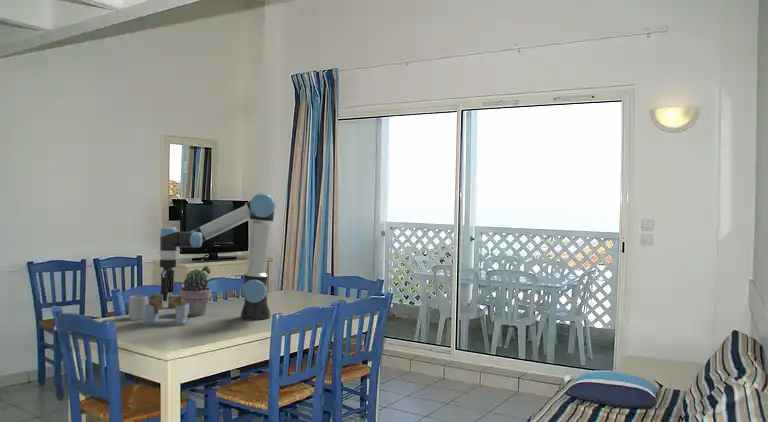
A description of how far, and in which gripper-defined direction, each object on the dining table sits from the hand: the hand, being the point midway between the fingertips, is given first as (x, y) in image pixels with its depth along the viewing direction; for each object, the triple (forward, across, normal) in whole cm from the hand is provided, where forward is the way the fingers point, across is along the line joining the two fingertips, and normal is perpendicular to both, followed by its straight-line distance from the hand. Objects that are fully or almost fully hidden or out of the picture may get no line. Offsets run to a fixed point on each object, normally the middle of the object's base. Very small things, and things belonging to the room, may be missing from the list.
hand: (166, 306), depth 304 cm
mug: (+8, -12, -17) cm, 22 cm away
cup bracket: (+8, 0, 0) cm, 8 cm away
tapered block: (+1, 0, 0) cm, 1 cm away
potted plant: (+8, -23, +7) cm, 25 cm away
